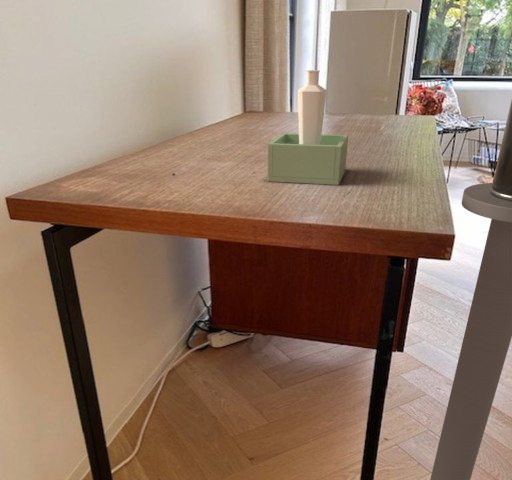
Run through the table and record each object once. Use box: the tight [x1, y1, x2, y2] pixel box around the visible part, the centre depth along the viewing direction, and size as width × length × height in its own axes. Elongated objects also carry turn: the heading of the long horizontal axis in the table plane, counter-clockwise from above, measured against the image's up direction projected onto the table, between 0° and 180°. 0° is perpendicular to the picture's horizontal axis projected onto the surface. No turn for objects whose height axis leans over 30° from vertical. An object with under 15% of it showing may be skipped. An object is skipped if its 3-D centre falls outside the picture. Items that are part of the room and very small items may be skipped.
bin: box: [266, 132, 349, 186], centre depth 84 cm, size 12×12×6 cm
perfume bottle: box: [297, 69, 328, 145], centre depth 81 cm, size 5×4×15 cm
